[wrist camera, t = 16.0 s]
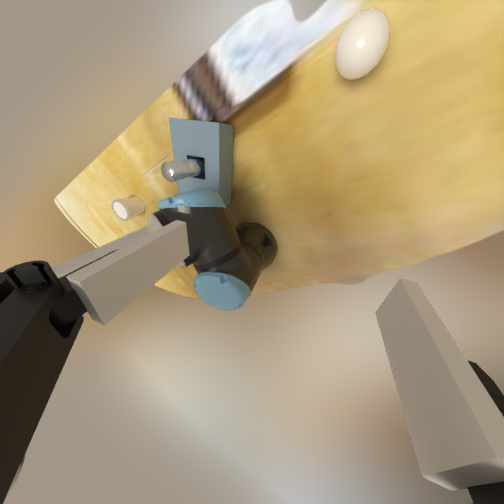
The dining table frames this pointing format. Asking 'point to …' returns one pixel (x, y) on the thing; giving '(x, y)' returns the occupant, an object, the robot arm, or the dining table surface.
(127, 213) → the shot glass
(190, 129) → the hole block
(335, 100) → the dining table surface
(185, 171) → the tall pin
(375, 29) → the lightbulb
